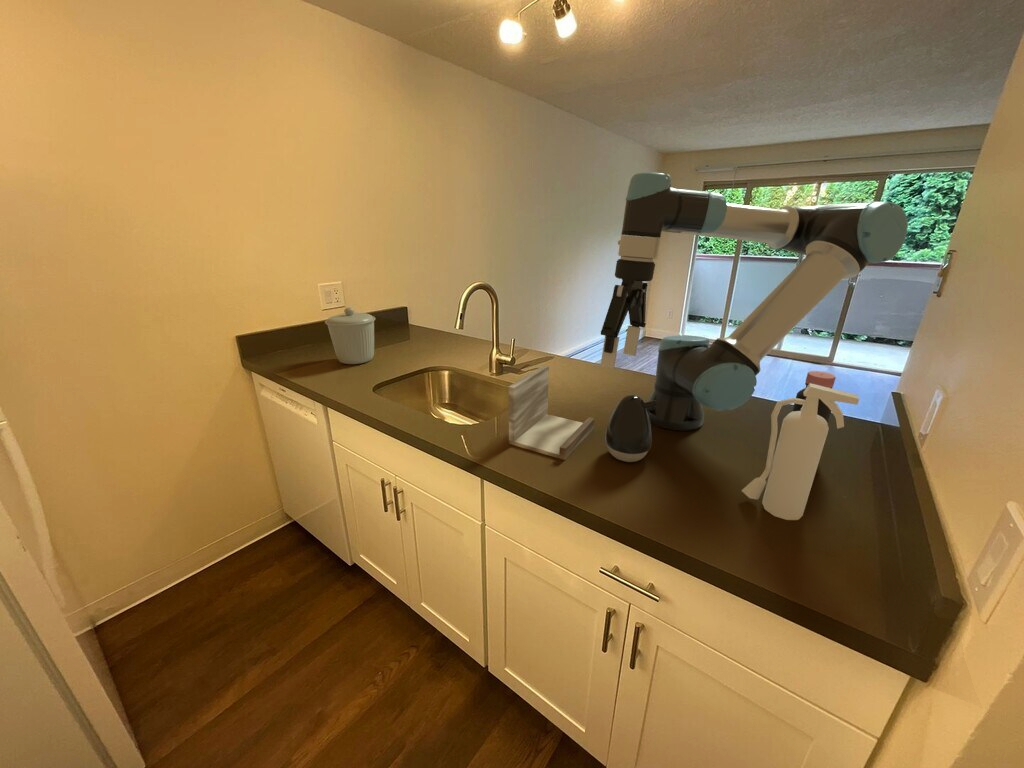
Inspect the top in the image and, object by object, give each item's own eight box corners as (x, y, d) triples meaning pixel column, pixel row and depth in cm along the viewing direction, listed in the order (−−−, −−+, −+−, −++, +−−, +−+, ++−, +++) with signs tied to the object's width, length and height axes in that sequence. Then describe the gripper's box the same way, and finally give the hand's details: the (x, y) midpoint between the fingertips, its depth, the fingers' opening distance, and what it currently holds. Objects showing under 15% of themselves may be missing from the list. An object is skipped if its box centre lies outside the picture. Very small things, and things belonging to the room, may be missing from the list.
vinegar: (775, 448, 99) (795, 369, 92) (804, 449, 99) (827, 369, 92) (792, 464, 93) (815, 380, 86) (823, 464, 93) (849, 380, 85)
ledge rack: (593, 428, 109) (597, 375, 104) (565, 460, 95) (568, 399, 89) (542, 416, 116) (543, 365, 111) (508, 443, 102) (508, 386, 96)
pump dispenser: (652, 470, 91) (661, 406, 85) (603, 465, 93) (609, 402, 87) (648, 447, 100) (655, 388, 94) (603, 443, 102) (608, 385, 96)
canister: (390, 358, 167) (384, 305, 159) (352, 371, 153) (343, 314, 145) (360, 351, 176) (353, 301, 168) (322, 363, 162) (312, 309, 154)
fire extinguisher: (741, 486, 85) (773, 372, 75) (812, 508, 79) (858, 387, 69) (737, 505, 79) (771, 384, 69) (813, 530, 73) (862, 402, 63)
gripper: (637, 257, 95) (622, 346, 103) (594, 257, 75) (578, 368, 83) (671, 260, 91) (652, 353, 99) (634, 262, 72) (614, 378, 79)
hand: (618, 360), depth 91 cm, fingers open, 13 cm apart
